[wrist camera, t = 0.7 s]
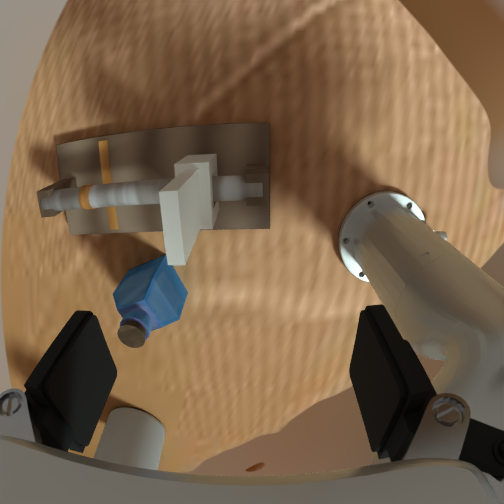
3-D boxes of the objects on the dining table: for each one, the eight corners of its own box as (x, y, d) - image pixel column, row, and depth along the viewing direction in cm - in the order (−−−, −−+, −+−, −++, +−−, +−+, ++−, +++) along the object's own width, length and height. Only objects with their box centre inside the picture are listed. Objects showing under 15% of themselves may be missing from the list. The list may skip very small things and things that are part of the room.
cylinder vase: (100, 403, 54) (63, 503, 31) (155, 407, 54) (127, 520, 31) (123, 435, 59) (97, 525, 37) (173, 440, 59) (155, 539, 36)
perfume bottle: (166, 254, 40) (138, 306, 29) (187, 292, 43) (169, 351, 32) (128, 270, 41) (94, 321, 30) (151, 305, 44) (125, 362, 33)
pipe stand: (268, 122, 33) (273, 124, 26) (269, 222, 38) (273, 251, 31) (64, 143, 34) (26, 153, 26) (77, 229, 39) (45, 255, 31)
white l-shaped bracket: (216, 153, 31) (191, 181, 18) (219, 209, 34) (199, 271, 21) (187, 155, 31) (144, 184, 18) (191, 210, 34) (156, 272, 21)
